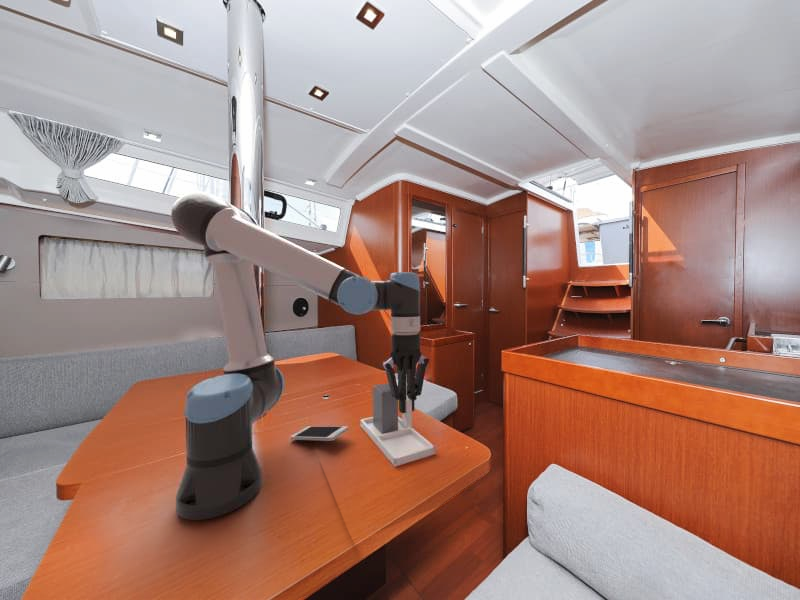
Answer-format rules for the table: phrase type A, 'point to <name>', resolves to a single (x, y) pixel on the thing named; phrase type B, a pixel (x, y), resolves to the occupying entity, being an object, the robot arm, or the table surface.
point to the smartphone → (320, 433)
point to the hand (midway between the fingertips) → (407, 424)
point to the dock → (399, 442)
